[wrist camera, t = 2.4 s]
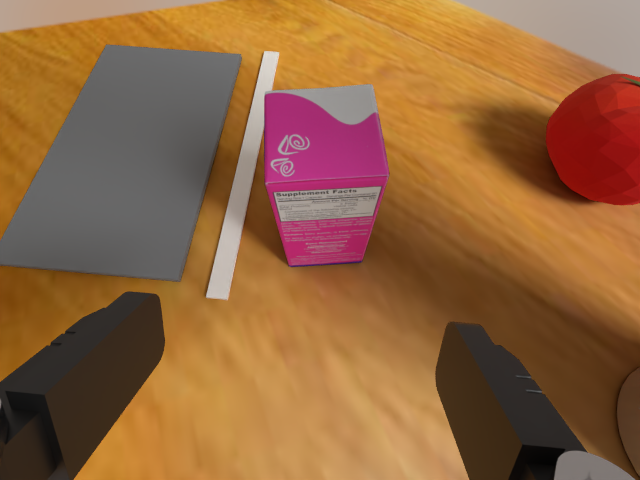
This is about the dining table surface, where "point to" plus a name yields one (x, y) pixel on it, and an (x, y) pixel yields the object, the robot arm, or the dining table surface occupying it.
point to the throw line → (242, 185)
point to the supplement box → (324, 171)
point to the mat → (127, 167)
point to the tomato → (599, 140)
